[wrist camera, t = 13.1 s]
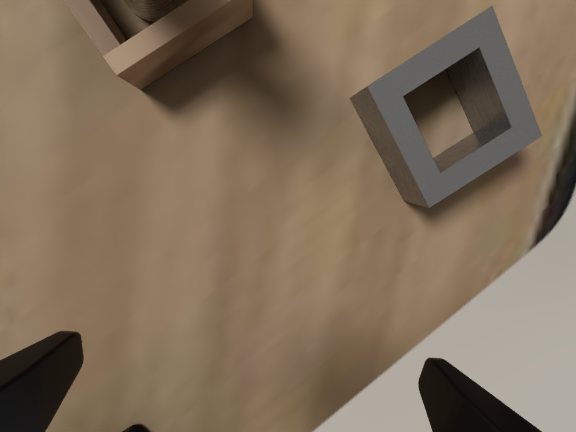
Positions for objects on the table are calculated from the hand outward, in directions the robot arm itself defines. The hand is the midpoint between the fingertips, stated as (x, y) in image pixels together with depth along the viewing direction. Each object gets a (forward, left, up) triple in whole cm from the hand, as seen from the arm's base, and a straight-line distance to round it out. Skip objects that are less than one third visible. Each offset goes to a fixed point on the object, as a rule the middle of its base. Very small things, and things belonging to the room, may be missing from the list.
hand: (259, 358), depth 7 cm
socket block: (+14, 0, -12) cm, 19 cm away
